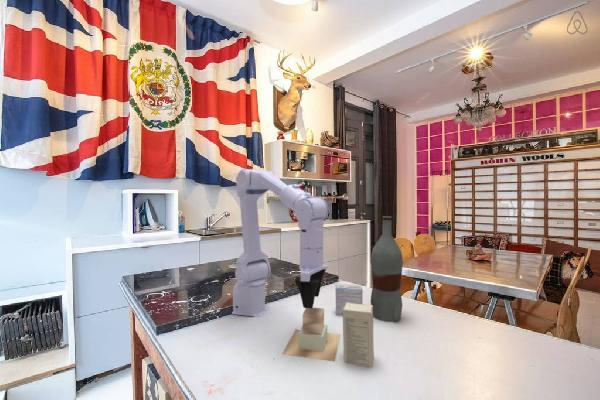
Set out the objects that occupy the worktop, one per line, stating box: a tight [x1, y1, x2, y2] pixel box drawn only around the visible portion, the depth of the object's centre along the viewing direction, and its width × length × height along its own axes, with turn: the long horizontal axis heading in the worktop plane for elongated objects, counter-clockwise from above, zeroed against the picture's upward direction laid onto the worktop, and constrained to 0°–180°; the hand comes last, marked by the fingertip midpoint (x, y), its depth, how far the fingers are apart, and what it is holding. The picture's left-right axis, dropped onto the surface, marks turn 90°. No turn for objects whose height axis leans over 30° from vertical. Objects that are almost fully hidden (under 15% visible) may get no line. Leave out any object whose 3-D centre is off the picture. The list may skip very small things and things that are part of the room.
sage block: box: [298, 324, 328, 352], centre depth 71 cm, size 6×6×4 cm
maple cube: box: [302, 307, 325, 335], centre depth 71 cm, size 4×4×4 cm
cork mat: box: [282, 328, 341, 362], centre depth 71 cm, size 12×12×1 cm
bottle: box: [370, 215, 404, 323], centre depth 86 cm, size 9×9×30 cm
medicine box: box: [335, 283, 364, 317], centre depth 88 cm, size 8×4×9 cm, turn 84°
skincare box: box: [342, 303, 375, 368], centre depth 64 cm, size 6×4×12 cm
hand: (311, 301), depth 72 cm, fingers open, 7 cm apart
